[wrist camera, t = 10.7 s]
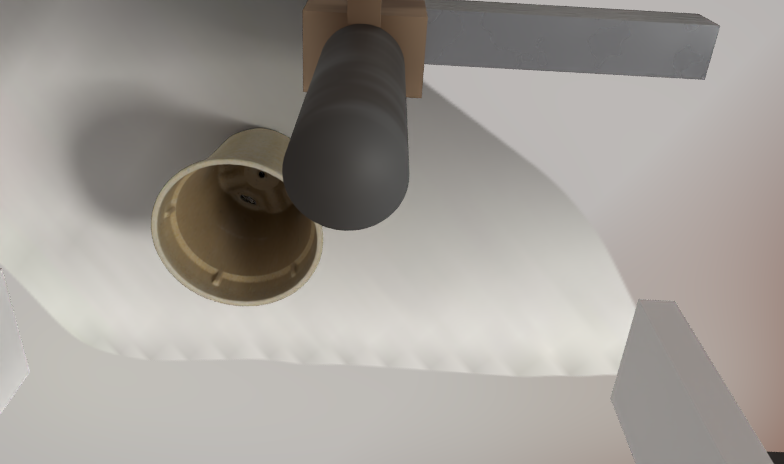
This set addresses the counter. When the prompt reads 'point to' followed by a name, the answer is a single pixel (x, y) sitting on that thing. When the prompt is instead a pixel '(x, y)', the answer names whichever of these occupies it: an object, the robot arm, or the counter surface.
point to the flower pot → (236, 225)
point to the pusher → (355, 110)
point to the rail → (568, 39)
